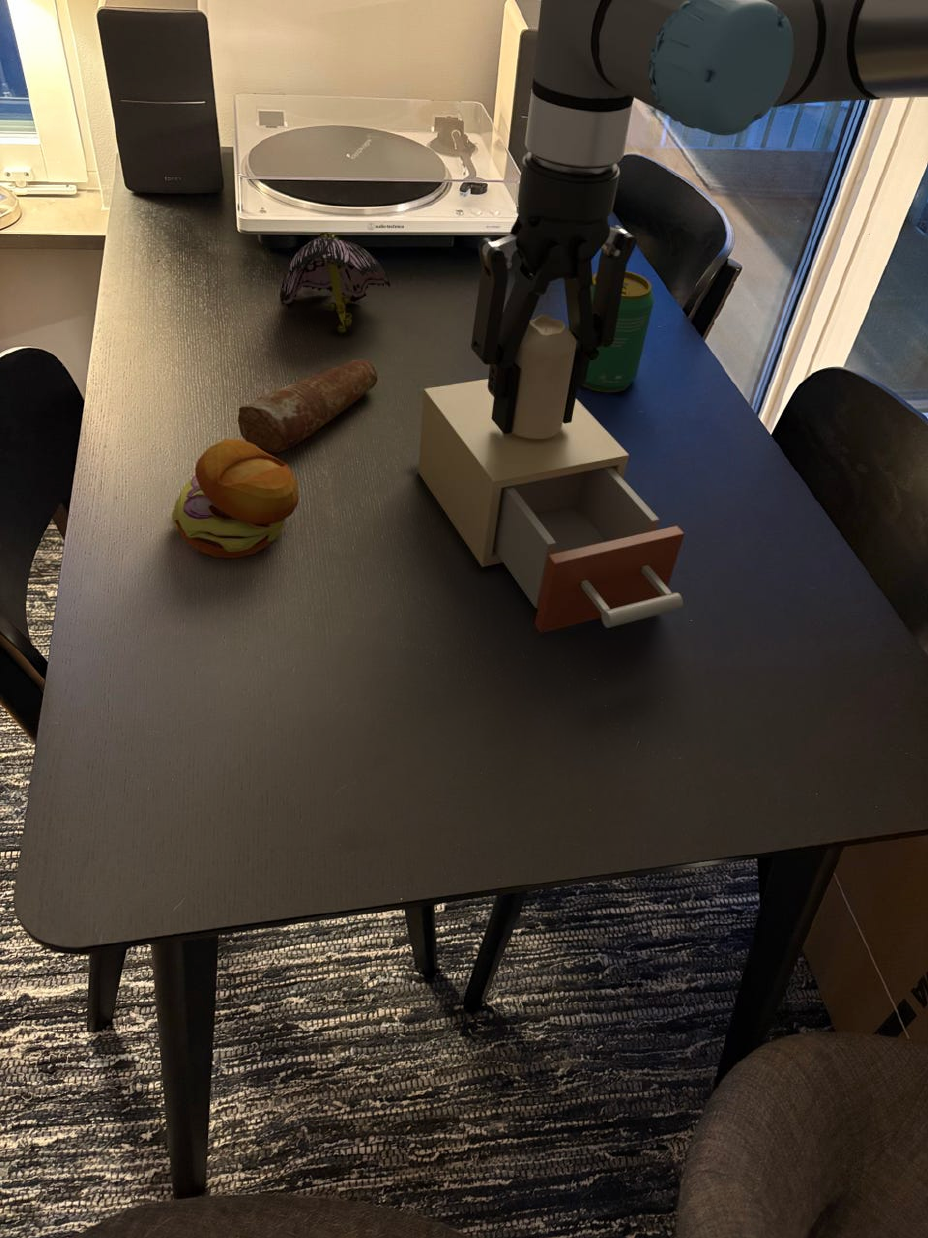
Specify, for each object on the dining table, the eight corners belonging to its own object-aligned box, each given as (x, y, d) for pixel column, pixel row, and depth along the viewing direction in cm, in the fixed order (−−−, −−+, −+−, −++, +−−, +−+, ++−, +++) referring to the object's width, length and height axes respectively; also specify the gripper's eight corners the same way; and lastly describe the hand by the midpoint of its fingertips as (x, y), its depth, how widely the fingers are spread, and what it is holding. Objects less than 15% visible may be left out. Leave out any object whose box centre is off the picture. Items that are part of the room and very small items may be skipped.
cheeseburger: (186, 490, 94) (201, 405, 88) (293, 522, 96) (316, 442, 90) (156, 555, 87) (170, 467, 80) (272, 589, 89) (296, 506, 82)
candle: (505, 439, 87) (519, 336, 80) (499, 406, 91) (512, 306, 84) (565, 440, 88) (584, 339, 81) (557, 408, 92) (574, 309, 85)
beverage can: (633, 365, 121) (655, 272, 112) (635, 398, 115) (658, 302, 107) (570, 356, 121) (586, 263, 113) (568, 389, 115) (586, 293, 107)
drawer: (695, 640, 84) (720, 571, 79) (569, 675, 80) (586, 605, 74) (584, 507, 97) (599, 440, 91) (470, 531, 92) (478, 462, 87)
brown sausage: (233, 446, 101) (229, 399, 97) (351, 377, 113) (351, 333, 109) (279, 470, 98) (276, 422, 94) (394, 397, 110) (396, 352, 106)
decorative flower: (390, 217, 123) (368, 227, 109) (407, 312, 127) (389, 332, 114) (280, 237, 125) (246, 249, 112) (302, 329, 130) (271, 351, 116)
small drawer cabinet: (608, 538, 95) (629, 454, 88) (482, 567, 90) (493, 481, 83) (535, 450, 105) (549, 369, 98) (417, 472, 100) (423, 388, 93)
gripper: (648, 134, 79) (597, 386, 95) (441, 146, 73) (423, 414, 89) (700, 167, 75) (637, 426, 90) (483, 183, 68) (456, 459, 84)
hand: (531, 420), depth 90 cm, fingers closed on candle, 5 cm apart
